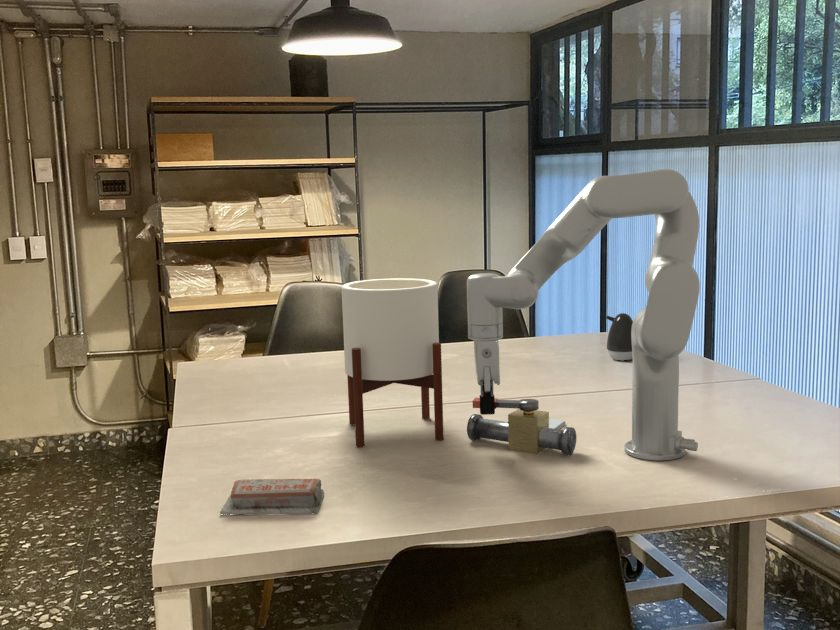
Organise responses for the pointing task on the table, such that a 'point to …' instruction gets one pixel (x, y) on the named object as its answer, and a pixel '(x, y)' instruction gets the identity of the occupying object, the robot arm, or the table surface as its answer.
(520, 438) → the pipe and valve body
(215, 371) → the table surface
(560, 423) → the hard drive
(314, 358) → the table surface
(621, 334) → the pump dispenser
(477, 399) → the valve lever
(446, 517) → the table surface
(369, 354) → the plant pot with stand
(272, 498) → the packaged product
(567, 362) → the table surface
